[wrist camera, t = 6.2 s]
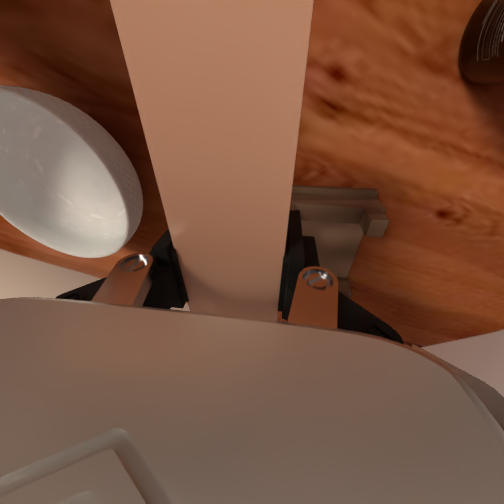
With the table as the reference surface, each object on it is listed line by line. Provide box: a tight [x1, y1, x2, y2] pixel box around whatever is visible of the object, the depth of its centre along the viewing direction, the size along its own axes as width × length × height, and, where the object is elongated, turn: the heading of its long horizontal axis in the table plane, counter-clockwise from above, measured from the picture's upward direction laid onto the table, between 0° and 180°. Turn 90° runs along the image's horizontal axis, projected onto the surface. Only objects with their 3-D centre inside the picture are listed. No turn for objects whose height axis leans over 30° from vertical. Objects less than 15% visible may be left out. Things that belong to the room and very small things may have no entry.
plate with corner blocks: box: [290, 185, 389, 299], centre depth 27 cm, size 15×11×6 cm
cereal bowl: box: [0, 85, 143, 258], centre depth 24 cm, size 17×17×7 cm
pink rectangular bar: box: [110, 0, 313, 321], centre depth 10 cm, size 18×4×4 cm, turn 0°
